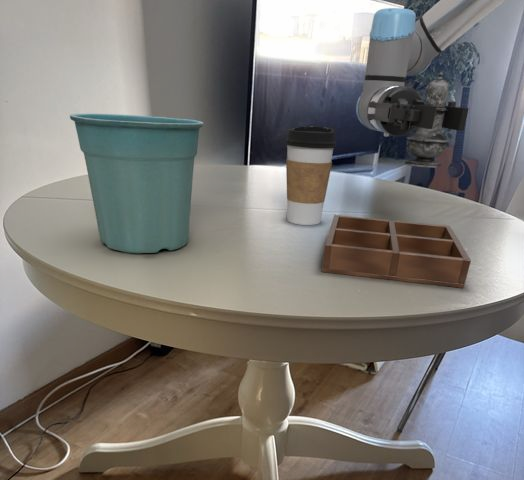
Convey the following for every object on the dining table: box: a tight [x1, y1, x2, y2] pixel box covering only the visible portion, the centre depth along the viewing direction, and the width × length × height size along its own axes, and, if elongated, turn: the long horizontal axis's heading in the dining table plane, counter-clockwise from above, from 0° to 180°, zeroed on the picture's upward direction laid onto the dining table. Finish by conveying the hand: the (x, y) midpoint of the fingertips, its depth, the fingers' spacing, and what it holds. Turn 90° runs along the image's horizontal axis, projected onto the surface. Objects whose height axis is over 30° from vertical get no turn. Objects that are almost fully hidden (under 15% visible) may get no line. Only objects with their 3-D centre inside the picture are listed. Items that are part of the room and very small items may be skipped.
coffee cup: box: [284, 125, 337, 226], centre depth 81 cm, size 8×8×15 cm
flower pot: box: [69, 113, 204, 254], centre depth 65 cm, size 16×16×16 cm
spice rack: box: [321, 214, 472, 289], centre depth 66 cm, size 17×17×4 cm
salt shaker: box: [404, 71, 450, 169], centre depth 68 cm, size 6×6×12 cm
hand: (447, 118), depth 63 cm, fingers closed on salt shaker, 4 cm apart
